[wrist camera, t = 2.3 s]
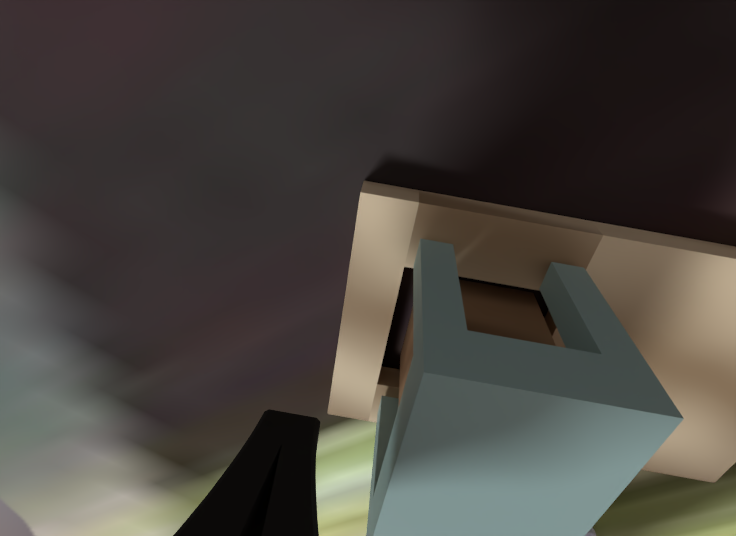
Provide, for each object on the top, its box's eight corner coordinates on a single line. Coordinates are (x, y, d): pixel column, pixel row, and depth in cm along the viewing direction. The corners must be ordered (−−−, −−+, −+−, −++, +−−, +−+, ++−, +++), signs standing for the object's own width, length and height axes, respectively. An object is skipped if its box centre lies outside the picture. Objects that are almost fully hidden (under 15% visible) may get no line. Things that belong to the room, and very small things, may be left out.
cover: (500, 434, 17) (533, 596, 12) (377, 412, 17) (363, 566, 12) (584, 267, 13) (684, 418, 8) (420, 238, 13) (423, 372, 8)
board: (700, 461, 18) (714, 482, 18) (331, 395, 18) (327, 413, 18) (880, 272, 13) (913, 290, 12) (363, 180, 13) (360, 192, 12)
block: (497, 371, 17) (526, 492, 13) (400, 354, 17) (396, 469, 13) (533, 291, 15) (580, 404, 11) (421, 272, 15) (424, 376, 11)
